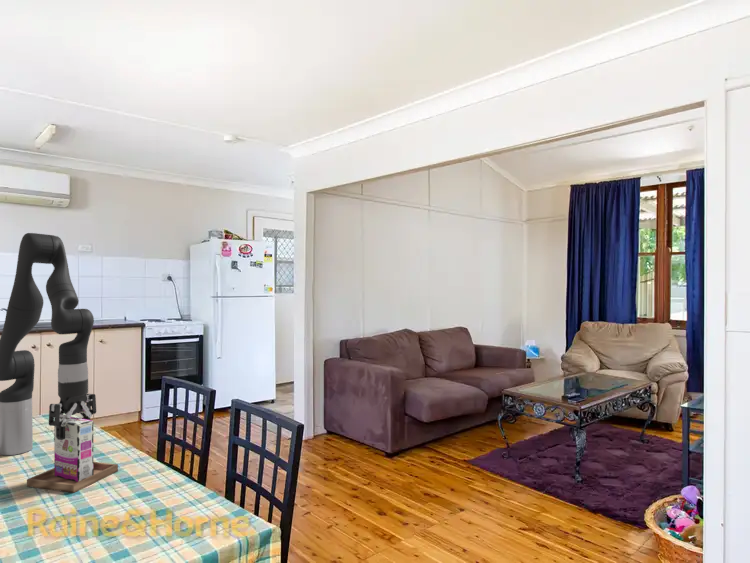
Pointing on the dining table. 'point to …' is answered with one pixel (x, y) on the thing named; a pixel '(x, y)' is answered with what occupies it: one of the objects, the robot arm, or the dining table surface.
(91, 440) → the candy bar box
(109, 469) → the walnut tray
